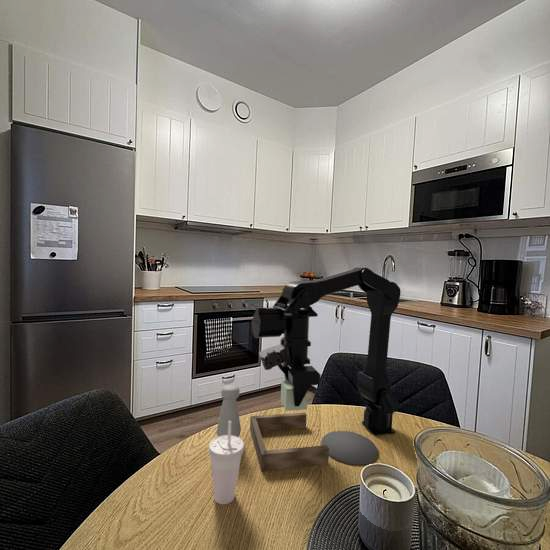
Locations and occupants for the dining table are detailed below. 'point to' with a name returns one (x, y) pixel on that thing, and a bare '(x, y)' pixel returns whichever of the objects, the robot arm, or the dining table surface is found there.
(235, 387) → the salt shaker
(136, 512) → the dining table surface
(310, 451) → the bay
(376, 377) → the robot arm
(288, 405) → the block
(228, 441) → the smoothie
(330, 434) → the coaster
